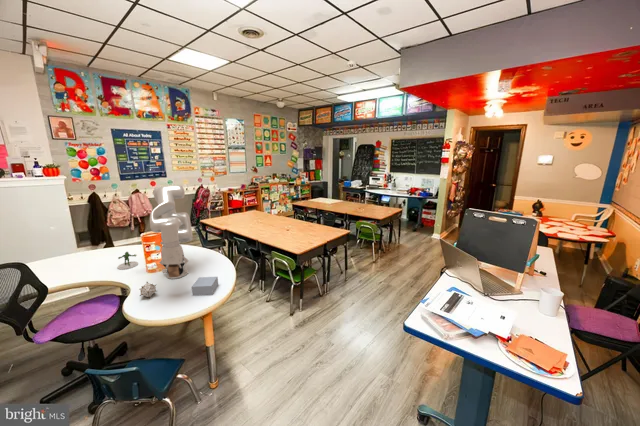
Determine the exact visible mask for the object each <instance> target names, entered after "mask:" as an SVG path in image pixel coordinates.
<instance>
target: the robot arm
mask: <svg viewBox="0 0 640 426" xmlns="http://www.w3.org/2000/svg"><path fill="white" fill-rule="evenodd" d="M152 194H153V198H154V200H155V202H156V203H157V206H155V207H154V208H153V209H152V210H151V212H150V214H149V227H150V230H151V231H152V232H153V233H161V235H160V236H161V241H160V245H162V247H161V260H160V261H159V264H160V265H162V266H163V267H165V268H163V269H162V274H166V279H169V280H177V279H181V278H183V277H185V276H187V275H188V273H189V271H188V269H186V267H185V265H186V264H187V263H188V262H189V260H188V258H186V256H185V254H184V253H185V252H184V249H183V247H182V245H181V243H188V242H191V241H192V240H193V237H194V236H193V230H192V223H191V218H190V215H189V213H188V212H186V211H185V212H184V211H183V212H177V210H176V201H175V200H179V199H184V198H185V195H186V193H185V189H184V187H183V185H181V184H177V185H175V184H174V185H163V186H159V187H155V188H154V189H153V190H152ZM160 217H161V218H160ZM174 264H178V266H179V274H180V276H179V277H169V272H168V267H169V266H170V265H174Z"/></svg>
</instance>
